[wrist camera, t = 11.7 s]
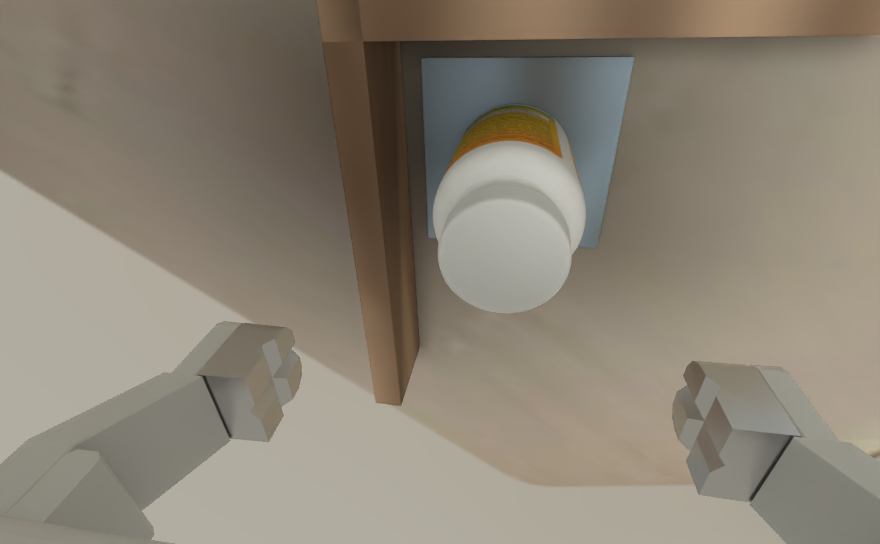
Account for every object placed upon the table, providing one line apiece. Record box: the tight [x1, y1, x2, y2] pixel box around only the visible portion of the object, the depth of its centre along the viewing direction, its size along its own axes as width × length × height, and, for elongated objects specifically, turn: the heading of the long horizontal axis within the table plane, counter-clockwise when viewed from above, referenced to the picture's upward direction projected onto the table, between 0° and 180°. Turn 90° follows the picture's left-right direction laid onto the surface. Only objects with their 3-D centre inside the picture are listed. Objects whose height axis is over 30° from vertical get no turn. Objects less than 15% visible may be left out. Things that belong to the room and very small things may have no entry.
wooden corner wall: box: [316, 0, 880, 406], centre depth 20 cm, size 20×20×5 cm
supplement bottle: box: [433, 104, 586, 313], centre depth 17 cm, size 5×5×10 cm
